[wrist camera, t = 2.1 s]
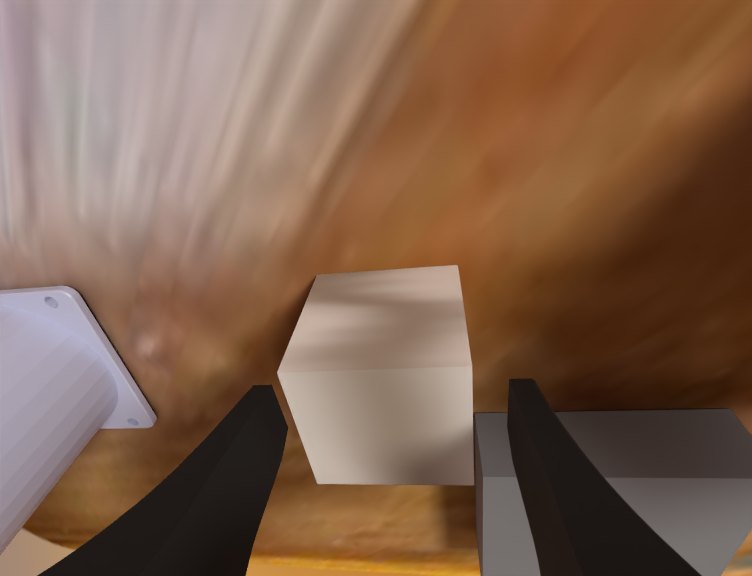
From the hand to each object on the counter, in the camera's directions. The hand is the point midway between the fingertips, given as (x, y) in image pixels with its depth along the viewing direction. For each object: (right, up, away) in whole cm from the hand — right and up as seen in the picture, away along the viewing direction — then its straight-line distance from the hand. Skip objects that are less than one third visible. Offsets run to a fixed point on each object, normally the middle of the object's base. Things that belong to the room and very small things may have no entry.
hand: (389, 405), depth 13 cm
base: (+10, -6, +7) cm, 13 cm away
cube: (0, +2, +3) cm, 4 cm away
